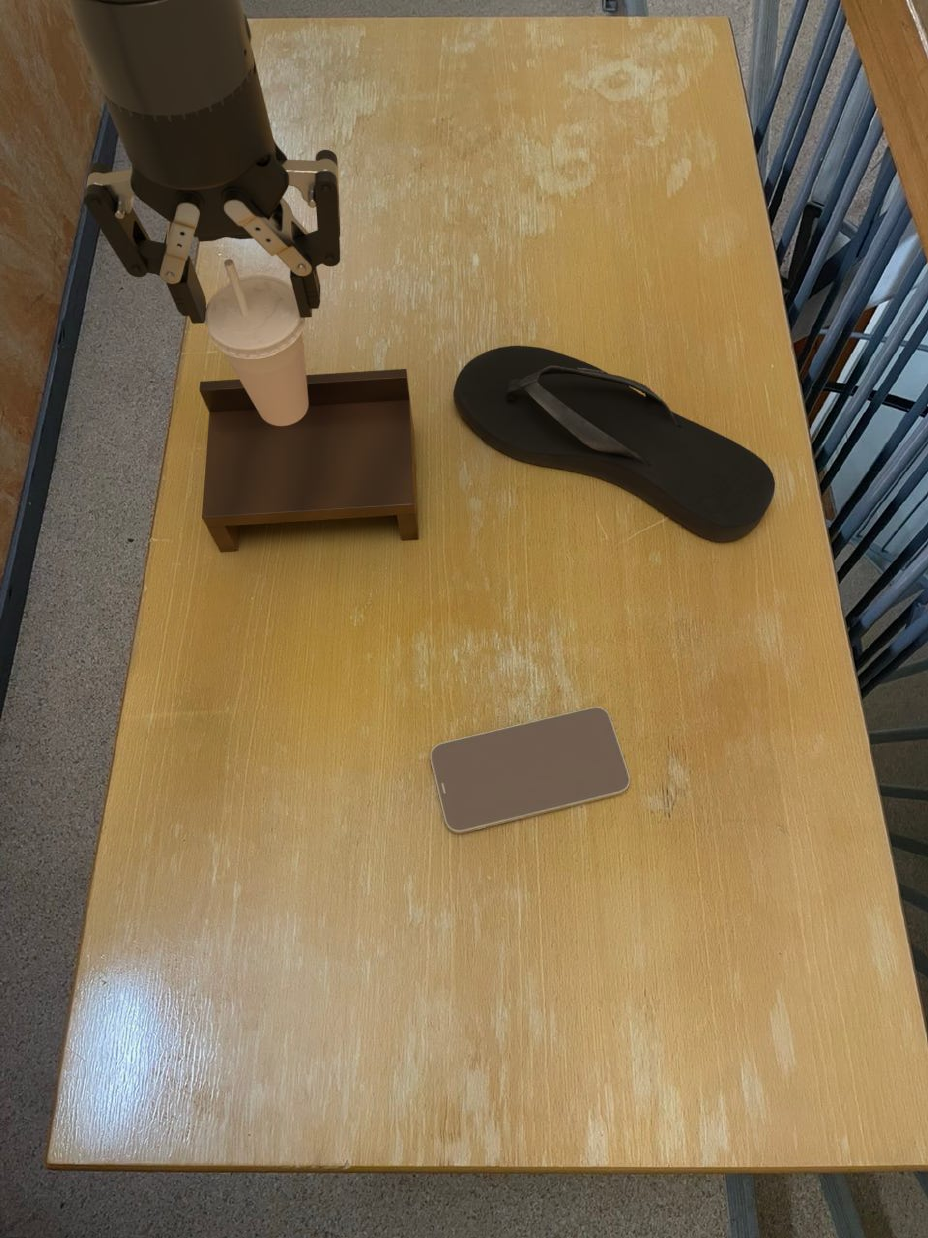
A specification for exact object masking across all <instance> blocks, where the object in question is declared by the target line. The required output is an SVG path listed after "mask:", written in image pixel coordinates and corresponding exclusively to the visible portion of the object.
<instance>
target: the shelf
mask: <svg viewBox="0 0 928 1238" xmlns="http://www.w3.org/2000/svg"><path fill="white" fill-rule="evenodd" d="M407 369H408V368H396V369H381V370H379V369H378V370H366V371H363V370H362V371H348V372H335V373H333V372H332V373H317V374H316V373H315V374H306V380H307V391H308V402H309V406H308V410H307V412H306V414H305V415H304V416H303V417H302V418H301V419H300V420H299V421H297V422H296V423H293V424H291V425H287V426H276V425H272V424H269V423H268V422H266V421H265V420H264V419H263V418H262V417H261V415H260V414H259V412H258V410H257V408H256V407H255V405H254V403H253V402H252V400H251V398H250V396H249V395H248V393H247V391H246V390H245V388H244V386H243V384H242V383H241V381H240V379H239V378H238V379H222V380H221V379H220V380H207V381H199V392H200V395H201V397H202V400H203V402H204V404H205V406H206V409H207V411H208V422H207V423H208V425H207V438H206V452H205V464H204V465H205V467H204V481H203V494H202V495H203V496H202V509H201V510H202V511H201V519H202V521H203V523H204V525H205V526H206V529H207V530H208V532H209V534H210V536H211V537H212V540H213V541H214V543H215V545H216V547H217V549H218V551H219V552H220V553H226V552H228V553H230V552H238V551H239V535H240V534H239V533H240V532H239V531H240V526H247V525H262V524H263V525H264V524H275V523H277V524H278V523H279V524H280V523H293V522H309V521H322V520H323V521H324V520H325V521H326V520H339V519H341V520H342V519H356V518H357V519H358V518H369V517H370V518H372V517H387V516H396V518H397V523H398V530H399V536H400V540H401V541H413V540H414V541H415V540H419V539H420V536H419V535H420V534H419V514H418V491H417V490H418V489H417V469H416V446H415V429H414V419H413V413H412V403H411V395H410V388H409V378H408V371H407Z"/></svg>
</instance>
